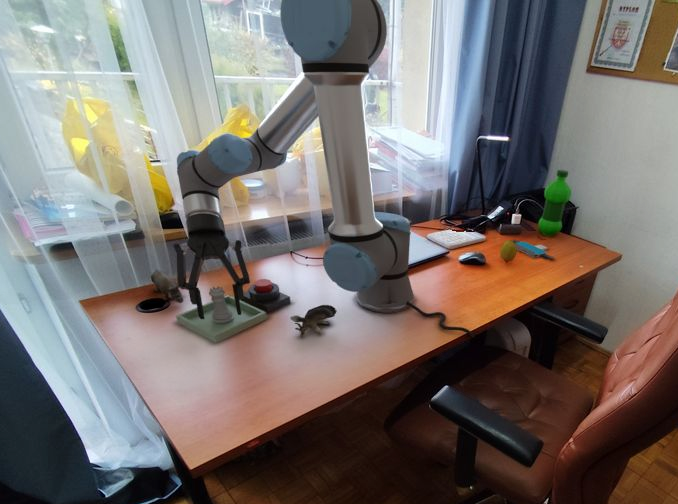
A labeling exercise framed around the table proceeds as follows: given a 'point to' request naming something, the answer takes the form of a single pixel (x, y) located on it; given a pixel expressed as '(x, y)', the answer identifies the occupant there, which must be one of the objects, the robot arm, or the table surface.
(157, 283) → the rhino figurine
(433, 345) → the table surface
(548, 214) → the plastic bottle
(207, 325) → the green tray
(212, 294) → the rook chess piece
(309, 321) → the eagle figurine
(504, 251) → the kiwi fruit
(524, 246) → the blue usb hub
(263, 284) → the button
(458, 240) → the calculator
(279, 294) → the control box
